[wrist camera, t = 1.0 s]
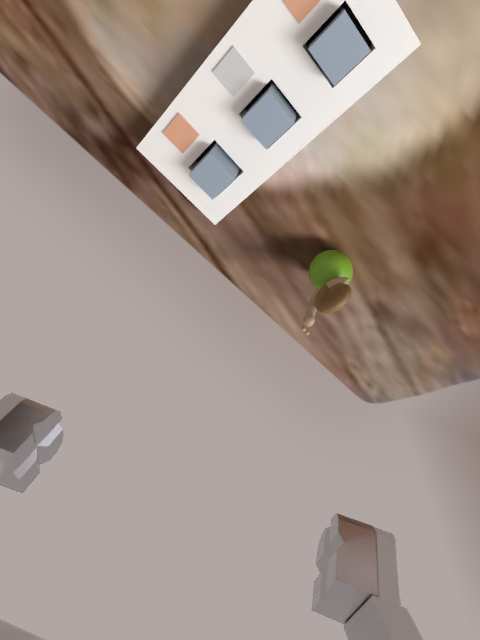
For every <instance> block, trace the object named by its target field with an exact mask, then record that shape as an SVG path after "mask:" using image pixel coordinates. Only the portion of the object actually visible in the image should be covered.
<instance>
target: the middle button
mask: <svg viewBox="0 0 480 640" xmlns="http://www.w3.org/2000/svg"><path fill="white" fill-rule="evenodd" d="M295 119H296V112H295V111H294V110H293V108H292V107H291V106H290V105H289V103H288V102H287V101H286V100H285V98H284V97H283V96H282V94H281V93H280V92H279V91H278V89H277V88H276V87H275V86H274V84H273V83H272V84H271V85H270V87H269V88H268V89H267V90H266V91H265V92H264V93H263V94H262V95H261V96H260V97H259V98H258V99H257V100H256V101H255V102H254V103H253V104H252V106H251V107H250V108H249V109H248V110H247V111H246V112H245V114H244V116H243V117H242V119H241V121H242V122H243V123H244V125H245V126H246V127H247V128H248V129H249V130H250V132H251V133H252V134H253V135H254V136H255V137H256V138H257V140H258V141H259V142H260V143H261V144H262V145H263V147H264V148H265V149H267V148H268V147H269V146H271V145H272V144H273V143H274V142H275V141H276V140H277V139H278V138H279V137H280V136H281V135H282V134H283V133H284V132H285V131H287V130H288V129H289V128H290V127H291V126H292V125H293V124H294V123H295Z"/></svg>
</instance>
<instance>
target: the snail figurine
mask: <svg viewBox="0 0 480 640" xmlns="http://www.w3.org/2000/svg"><path fill="white" fill-rule="evenodd" d="M352 275H353V267H352V263H351V261H350V259H349V258H348V257H347V256H346V255H345V254H344V253H342V252H340V251H337V250H326V251H323V252H321V253H319V254H318V255H316V256H315V257H314V259H313V260H312V262H311V264H310V267H309V277H310V280H311V282H312V284H313V285H314V286H315V287H316V288H317V289H318V290H317V291H316V292H315V293H314V294H313V296H312V297H311V299H310V301H309V303H308V306H307V309H306V315H305V317H304V319H303V327H302V328H301V330H302V331H303V332H305V334H306V335H309V331H306V328H305V327H304V325H305V326H307V328H308V326H312V325H313V324H314V322H315V318H314V316H315V313H316V311H317V310H318V311H319V312H321V313H332V312H335V311H337V310H339V309H340V308H342V307H343V306H344V305H345V304H346V303H347V302H348V300H349V298H350V296H351V288H350V286H349V285H348V284H349V282H350V281H351V278H352Z"/></svg>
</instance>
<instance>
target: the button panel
mask: <svg viewBox="0 0 480 640" xmlns="http://www.w3.org/2000/svg"><path fill="white" fill-rule="evenodd" d="M344 1H345V0H252V2H251V3H250V4H249V6H248V7H247V8H246V9H245V11H244V12H243V13H242V14H241V16H240V17H239V18H238V19H237V21H236V22H235V23H234V25H233V26H232V27H231V28H230V30H229V31H228V32H227V33H226V35H225V36H224V37H223V38H222V40H221V41H220V42H219V44H218V45H217V46H216V47H215V49H214V50H213V51H212V52H211V54H210V55H209V56H208V58H207V59H206V60H205V61H204V63H203V64H202V65H201V66H200V68H199V69H198V70H197V71H196V73H195V74H194V75H193V77H192V78H191V79H190V80H189V82H188V83H187V84H186V85H185V87H184V88H183V89H182V90H181V92H180V93H179V94H178V96H177V97H176V98H175V99H174V101H173V102H172V103H171V104H170V106H169V107H168V108H167V110H166V111H165V112H164V113H163V115H162V116H161V117H160V118H159V120H158V121H157V122H156V123H155V125H154V126H153V127H152V129H151V130H150V131H149V132H148V134H147V135H146V136H145V137H144V139H143V140H142V141H141V142H140V144H139V145H138V146H137V148H136V149H137V150H138V151H139V152H141V153H142V154H143V155H144V156H145V157H146V158H147V159H148V160H149V161H150V162H151V163H152V164H153V165H154V166H155V167H156V168H157V169H158V170H159V171H160V172H161V173H162V174H163V175H164V176H165V177H166V178H167V179H168V180H169V181H170V182H171V183H172V184H173V185H174V186H175V187H176V188H178V189H179V190H180V191H181V192H182V193H183V194H184V195H185V196H186V197H187V198H188V199H189V200H190V201H191V202H192V203H193V204H194V205H195V206H196V207H197V208H198V209H199V210H200V211H201V212H202V213H203V214H204V215H205V216H206V217H207V218H208V219H209V220H210V221H211V222H212V223H213V224H215V225H216V224H217V223H218V222H219V221H220V220H221V219H222V218H224V217H225V216H226V215H227V214H228V213H229V212H230V211H232V210H233V209H234V208H235V207H236V206H237V205H238V204H240V203H241V202H242V201H243V200H244V199H245V198H246V197H247V196H249V195H250V194H251V193H252V192H253V191H254V190H255V189H257V188H258V187H259V186H260V185H261V184H262V183H263V182H265V181H266V180H267V179H268V178H269V177H270V176H271V175H273V174H274V173H275V172H276V171H277V170H278V169H279V168H281V167H282V166H283V165H284V164H285V163H286V162H287V161H289V160H290V159H291V158H292V157H293V156H294V155H295V154H297V153H298V152H299V151H300V150H301V149H302V148H303V147H305V146H306V145H307V144H308V143H309V142H310V141H311V140H313V139H314V138H315V137H316V136H317V135H318V134H319V133H320V132H322V131H323V130H324V129H325V128H326V127H327V126H328V125H330V124H331V123H332V122H333V121H334V120H335V119H336V118H338V117H339V116H340V115H341V114H342V113H343V112H344V111H346V110H347V109H348V108H349V107H350V106H351V105H352V104H354V103H355V102H356V101H357V100H358V99H359V98H360V97H362V96H363V95H364V94H365V93H366V92H367V91H368V90H370V89H371V88H372V87H373V86H374V85H375V84H376V83H378V82H379V81H380V80H381V79H382V78H383V77H384V76H386V75H387V74H388V73H389V72H390V71H391V70H392V69H393V68H395V67H396V66H397V65H398V64H399V63H400V62H401V61H403V60H404V59H405V58H406V57H407V56H408V55H409V54H411V53H412V52H413V51H414V50H415V49H416V48H417V47H419V46H420V45H421V43H420V41H419V40H418V38H417V36H416V34H415V33H414V31H413V29H412V28H411V26H410V24H409V22H408V21H407V19H406V17H405V15H404V14H403V12H402V10H401V8H400V7H399V5H398V3H397V2H396V0H346V2H347V4H348V5H349V7H350V8H351V10H352V11H353V13H354V15H355V16H356V18H357V19H358V21H359V23H360V24H361V26H362V27H363V29H364V30H365V32H366V34H367V35H368V37H369V38H370V40H371V41H372V43H373V44H372V45H370V46H369V48H370V50H371V52H370V53H369V54H367V55H366V56H365V57H364V58H363V59H362V60H361V61H360V62H359V63H358V64H357V65H356V66H355V67H354V68H353V69H351V70H350V71H349V72H348V73H347V74H346V75H345V76H344V77H343V78H342V79H341V80H340V81H339V82H338V83H337V84H335V85H333V84H332V82H331V81H330V79H329V78H328V77H327V75H326V74H325V72H324V71H323V70H322V68H321V67H320V65H319V64H318V63H317V61H316V60H315V58H314V57H313V56H312V54H311V53H310V51H309V50H308V46H307V45H306V44H305V43H306V42H307V41H308V40H309V39H310V37H311V36H312V35H313V34H314V33H315V32H316V31H317V30H318V29H319V28H320V27H321V26H322V25H323V24H324V23H325V21H326V20H327V19H328V18H329V17H330V16H331V15H332V14H333V13H334V12H335V11H336V10H337V9H338V8H339V7H340V5H341V4H342V3H343V2H344ZM271 79H272V80H273V81H274V83H275V84H276V85H277V86H278V88H279V89H280V90H281V92H282V93H283V94H284V95H285V97H286V98H287V99H288V100H289V102H290V103H291V104H292V106H293V107H294V108H295V109H296V111H297V112H298V113H299V114H298V115H297V116H296V119H295V123H294V124H293V125H292V126H291V127H290V128H289V129H288V130H287V131H285V132H284V133H283V134H282V135H281V136H280V137H279V138H278V139H277V140H276V141H275V142H274V143H273V144H272V145H271V146H269V147H268V148H267V149H265V148H264V147H263V145H262V144H261V143H260V142H259V141H258V140H257V138H256V137H255V136H254V135H253V134H252V133H251V132H250V130H249V129H248V128H247V127H246V126H245V125H244V123H243V122H242V121H241V119H242V117H243V116H244V114H245V112H246V111H247V110H246V109H245V107H246V106H247V105H248V104H249V102H250V101H251V100H252V99H253V98H254V97H255V96H256V95H257V94H258V93H259V92H260V91H261V90H262V89H263V88H264V86H265V85H266V84H267V83H268V82H269V81H270V80H271ZM214 140H215V141H216V142H217V143H218V144H219V145H220V146H221V148H222V149H223V150H224V151H225V152H226V153H227V154H228V155H229V156H230V157H231V158H232V160H233V161H234V162H235V163H236V164H237V165H238V166H239V167H240V168H241V169H240V170H239V171H238V174H237V176H236V178H235V179H234V180H233V181H232V182H231V183H230V184H229V185H228V186H227V187H226V188H225V189H224V190H223V191H222V192H221V193H219V194H218V195H217V196H216V197H215V198H214V199H213V200H212V199H211V198H210V197H209V196H208V195H207V194H206V193H205V192H204V191H203V190H202V189H201V188H200V187H199V186H198V185H197V184H196V183H195V182H194V181H193V180H192V179H191V178H190V177H189V176H188V175H189V174H190V172H191V171H192V169H193V168H194V166H195V165H196V164H197V163H198V161H197V160H196V159H197V158H198V157H199V156H200V155H201V154H202V153H203V152H204V150H205V149H206V148H207V147H208V146H209V145H210V144H211V143H212V142H213V141H214Z"/></svg>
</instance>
